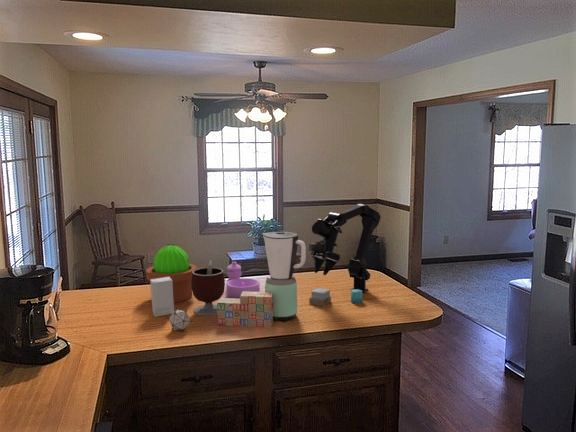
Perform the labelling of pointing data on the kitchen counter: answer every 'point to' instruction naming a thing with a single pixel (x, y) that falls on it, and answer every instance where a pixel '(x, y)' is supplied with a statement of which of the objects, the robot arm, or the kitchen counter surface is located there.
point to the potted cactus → (173, 270)
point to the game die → (179, 319)
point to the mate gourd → (207, 288)
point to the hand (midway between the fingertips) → (319, 273)
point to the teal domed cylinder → (356, 296)
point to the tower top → (320, 294)
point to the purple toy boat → (239, 282)
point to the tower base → (319, 301)
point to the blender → (283, 271)
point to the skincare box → (162, 296)
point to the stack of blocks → (247, 310)
